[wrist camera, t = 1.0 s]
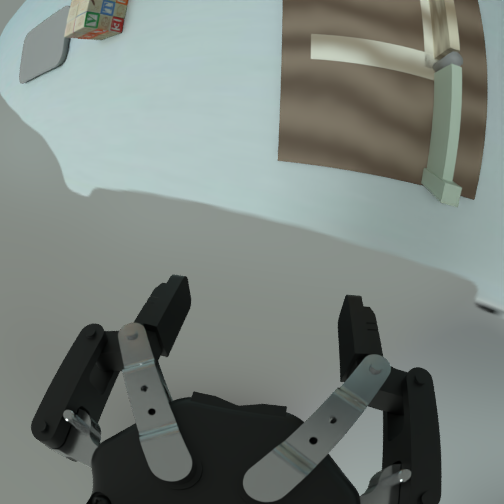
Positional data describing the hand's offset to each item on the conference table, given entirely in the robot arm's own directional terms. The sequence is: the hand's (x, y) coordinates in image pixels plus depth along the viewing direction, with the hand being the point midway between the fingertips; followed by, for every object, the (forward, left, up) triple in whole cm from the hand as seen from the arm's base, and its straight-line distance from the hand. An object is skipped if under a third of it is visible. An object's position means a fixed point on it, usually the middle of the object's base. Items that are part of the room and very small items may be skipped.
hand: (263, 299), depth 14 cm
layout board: (-18, +8, -25) cm, 32 cm away
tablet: (-34, -64, -25) cm, 77 cm away
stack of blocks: (-37, -36, -25) cm, 58 cm away
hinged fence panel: (-11, +14, -24) cm, 29 cm away
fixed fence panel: (-25, +14, -24) cm, 37 cm away
